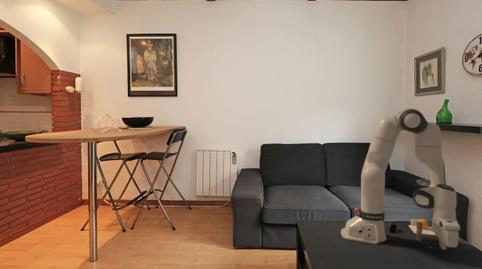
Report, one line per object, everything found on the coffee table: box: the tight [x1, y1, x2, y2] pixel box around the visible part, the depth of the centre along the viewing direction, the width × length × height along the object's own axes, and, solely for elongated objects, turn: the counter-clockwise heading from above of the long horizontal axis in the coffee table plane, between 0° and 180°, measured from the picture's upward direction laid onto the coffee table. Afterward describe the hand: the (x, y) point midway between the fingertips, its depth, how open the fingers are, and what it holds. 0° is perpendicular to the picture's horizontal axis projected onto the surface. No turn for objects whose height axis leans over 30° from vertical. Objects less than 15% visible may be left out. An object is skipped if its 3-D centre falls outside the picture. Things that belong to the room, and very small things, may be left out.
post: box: [415, 222, 423, 241], centre depth 152 cm, size 3×3×9 cm
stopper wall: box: [410, 218, 419, 226], centre depth 172 cm, size 7×2×3 cm, turn 76°
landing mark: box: [407, 224, 437, 236], centre depth 165 cm, size 12×12×1 cm
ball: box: [417, 218, 430, 229], centre depth 167 cm, size 6×6×6 cm
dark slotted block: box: [386, 221, 399, 234], centre depth 165 cm, size 12×7×5 cm, turn 162°
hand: (442, 248), depth 139 cm, fingers closed
